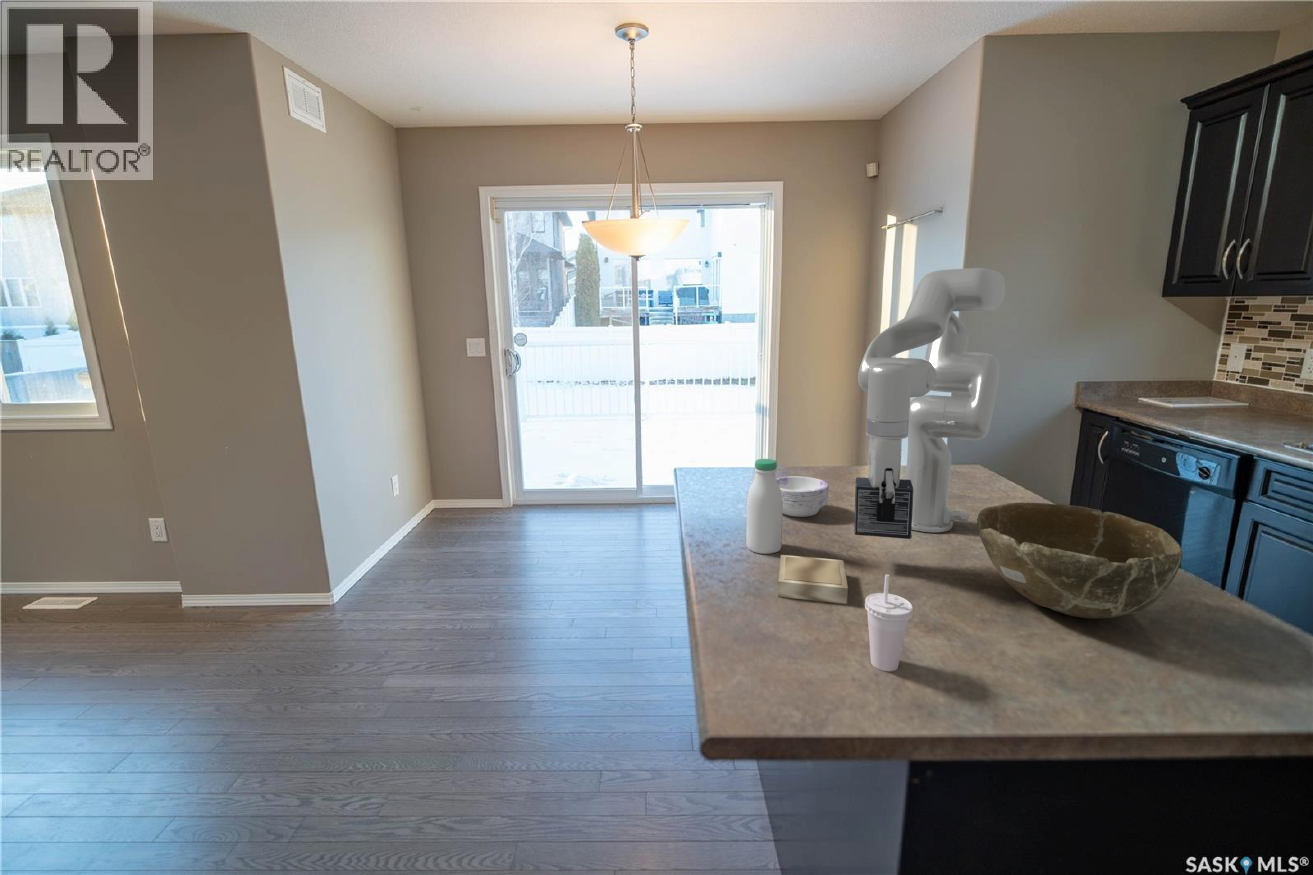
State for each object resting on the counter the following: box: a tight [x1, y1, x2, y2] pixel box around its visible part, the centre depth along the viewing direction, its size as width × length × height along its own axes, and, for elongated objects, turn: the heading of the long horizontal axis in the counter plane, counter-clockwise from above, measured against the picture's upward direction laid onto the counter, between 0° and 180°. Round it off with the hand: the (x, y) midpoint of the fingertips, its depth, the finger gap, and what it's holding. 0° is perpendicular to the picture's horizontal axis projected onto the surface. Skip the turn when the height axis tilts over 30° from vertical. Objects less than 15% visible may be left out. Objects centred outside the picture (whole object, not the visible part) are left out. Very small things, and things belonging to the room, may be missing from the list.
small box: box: [853, 476, 914, 540], centre depth 111 cm, size 11×6×10 cm, turn 71°
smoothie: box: [864, 573, 914, 672], centre depth 80 cm, size 6×6×14 cm
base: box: [777, 554, 849, 605], centre depth 105 cm, size 12×12×3 cm
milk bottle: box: [745, 458, 784, 555], centre depth 121 cm, size 8×8×20 cm
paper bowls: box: [776, 475, 829, 518], centre depth 145 cm, size 15×15×8 cm
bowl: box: [976, 502, 1184, 620], centre depth 94 cm, size 28×27×15 cm
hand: (882, 513), depth 111 cm, fingers closed on small box, 6 cm apart
